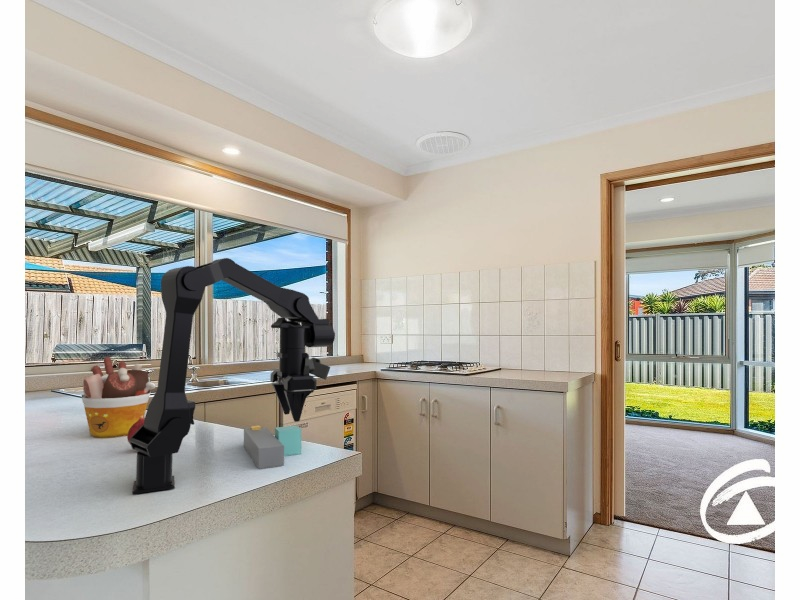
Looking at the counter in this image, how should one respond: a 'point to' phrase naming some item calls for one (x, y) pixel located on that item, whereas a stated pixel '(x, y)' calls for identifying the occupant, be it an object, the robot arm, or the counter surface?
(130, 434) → the onion
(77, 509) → the counter surface
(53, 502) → the counter surface
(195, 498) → the counter surface
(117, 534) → the counter surface
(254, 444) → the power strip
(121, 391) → the bucket of meat
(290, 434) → the block
